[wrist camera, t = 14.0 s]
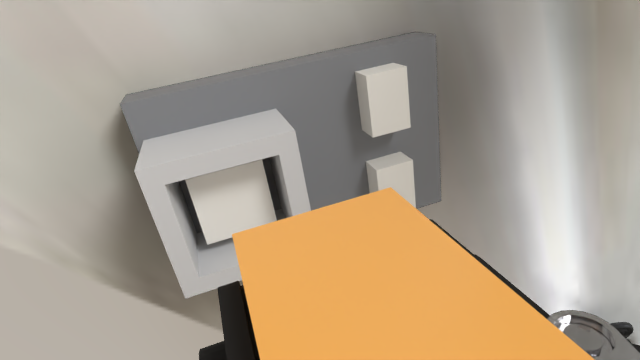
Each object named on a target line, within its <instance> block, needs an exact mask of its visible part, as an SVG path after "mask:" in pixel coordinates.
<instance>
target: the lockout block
mask: <svg viewBox="0 0 640 360" xmlns="http://www.w3.org/2000/svg"><path fill="white" fill-rule="evenodd" d="M232 237H233V241H234V246H235V250H236V255H237V259H238V264H239V268H240V272H241V277H242V281H243V286H244V290H245V295H246V299H247V303H248V308H249V312H250V317H251V321H252V326H253V330H254V334H255V339H256V343H257V348H258V352H259V357H260V360H595V359H593V358H592V357H591V356H590V355H589V354H588V353H586V352H585V351H584V350H583V349H582V348H580V347H579V346H578V345H577V344H576V343H575V342H573V341H572V340H571V339H570V338H569V337H567V336H566V335H565V334H564V333H563V332H562V331H560V330H559V329H558V328H557V327H556V326H554V325H553V324H552V323H551V322H550V321H549V320H547V319H546V318H545V317H544V316H543V315H541V314H540V313H539V312H538V311H537V310H536V309H534V308H533V307H532V306H531V305H530V304H528V303H527V302H526V301H525V300H524V299H523V298H521V297H520V296H519V295H518V294H517V293H515V292H514V291H513V290H512V289H511V288H509V287H508V286H507V285H506V284H505V283H504V282H502V281H501V280H500V279H499V278H498V277H496V276H495V275H494V274H493V273H492V272H491V271H489V270H488V269H487V268H486V267H485V266H483V265H482V264H481V263H480V262H479V261H478V260H476V259H475V258H474V257H473V256H472V255H470V254H469V253H468V252H467V251H466V250H465V249H463V248H462V247H461V246H460V245H459V244H457V243H456V242H455V241H454V240H453V239H452V238H450V237H449V236H448V235H447V234H446V233H444V232H443V231H442V230H441V229H440V228H439V227H437V226H436V225H435V224H434V223H433V222H431V221H430V220H429V219H428V218H427V217H425V216H424V215H423V214H422V213H421V212H420V211H418V210H417V209H416V208H415V207H414V206H412V205H411V204H410V203H409V202H408V201H407V200H405V199H404V198H403V197H402V196H401V195H399V194H398V193H397V192H396V191H395V190H394V189H392V188H391V187H390V188H386V189H383V190H379V191H376V192H373V193H369V194H366V195H363V196H359V197H356V198H352V199H349V200H346V201H342V202H339V203H336V204H332V205H329V206H325V207H322V208H319V209H315V210H312V211H309V212H305V213H302V214H298V215H295V216H292V217H288V218H285V219H281V220H278V221H275V222H271V223H268V224H265V225H261V226H258V227H254V228H251V229H248V230H244V231H241V232H238V233H234V234H232Z"/></svg>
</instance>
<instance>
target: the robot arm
mask: <svg viewBox="0 0 640 360" xmlns="http://www.w3.org/2000/svg"><path fill="white" fill-rule="evenodd" d="M429 220H430V221H431V222H433V223H434V224H435V225H436V226H437V227H439V228H440V229H441V230H442V231H443V232H444V233H446V234H447V235H448V236H449V237H450V238H452V239H453V240H454V241H455V242H456V243H457V244H459V245H460V246H461V247H462V248H463V249H465V250H466V251H467V252H468V253H469V254H470V255H472V256H473V257H474V258H475V259H476V260H478V261H479V262H480V263H481V264H482V265H483V266H485V267H486V268H487V269H488V270H489V271H491V272H492V273H493V274H494V275H495V276H496V277H498V278H499V279H500V280H501V281H502V282H504V283H505V284H506V285H507V286H508V287H509V288H511V289H512V290H513V291H514V292H515V293H517V294H518V295H519V296H520V297H521V298H523V299H524V300H525V301H526V302H527V303H528V304H530V305H531V306H532V307H533V308H534V309H536V310H537V311H538V312H539V313H540V314H541V315H543V316H544V317H545V318H546V319H547V320H549V321H550V322H551V323H552V324H553V325H554V326H556V327H557V328H558V329H559V330H560V331H562V332H563V333H564V334H565V335H566V336H567V337H569V338H570V339H571V340H572V341H573V342H575V343H576V344H577V345H578V346H579V347H580V348H582V349H583V350H584V351H585V352H586V353H588V354H589V355H590V356H591V357H592V358H593V359H595V360H640V346H639V345H635V344H630V343H629V342H628V341H627V340H626V339H625V338H624V337H623V336H622V335H621V333H620V332H619V331H618V330H617V329H616V328H614V327H613V326H612V325H611V324H609V323H608V322H607V321H605V320H603V319H601V318H599V317H597V316H595V315H592V314H589V313H586V312H582V311H575V310H566V311H560V312H557V313H553V314H552V315H551V316H550V315H549V314H548V313H546V312H545V311H544V310H543V309H542V308H540V307H539V306H538V305H537V304H536V303H534V302H533V301H532V300H531V299H529V298H528V297H527V296H526V295H525V294H523V293H522V292H521V291H520V290H519V289H517V288H516V287H515V286H514V285H513V284H511V283H510V282H509V281H508V280H507V279H505V278H504V277H503V276H502V275H501V274H499V273H498V272H497V271H496V270H495V269H493V268H492V267H491V266H490V265H489V264H487V263H486V262H485V261H484V260H482V259H481V258H480V257H478V256H477V255H474V254H472V253H471V252H470V251H469V250H468V249H466V248H465V247H464V246H463V245H462V244H461V243H459V242H458V241H457V240H456V239H455V238H453V237H452V236H451V235H450V234H449V233H447V232H446V231H445V230H444V229H443V228H441V227H440V226H439V225H438V224H437V223H435V222H434V221H433V220H431V219H429ZM218 295H219V303H220V311H221V318H222V326H223V334H224V341H222V342H220V343H217V344H214V345H211V346H208V347H205V348H202V349H200V351H199V360H260V357H259V352H258V348H257V343H256V339H255V334H254V330H253V326H252V321H251V317H250V312H249V308H248V303H247V299H246V295H245V290H244V286H243V285H242V286H240V283H239V281H236V282H232V283H229V284H226V285H223V286H220V287H218Z"/></svg>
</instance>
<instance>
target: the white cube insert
mask: <svg viewBox="0 0 640 360" xmlns="http://www.w3.org/2000/svg"><path fill="white" fill-rule="evenodd" d="M185 181H186V184H187V187H188V190H189V193H190V196H191V199H192V202H193V205H194V207H195V210H196V213H197V216H198V219H199V222H200V225H201V228H202V231H203V234H204V237H205V239H206V242H207V245H208V244H211V243H215V242H218V241H221V240H225V239H228V238H231V237H232V234H234V233H238V232H241V231H244V230H248V229H251V228H254V227H258V226H261V225H265V224H268V223H271V222H275V221H277V219H276V215H275V211H274V206H273V202H272V198H271V194H270V190H269V186H268V182H267V178H266V174H265V170H264V165H263V161H262V159H261V160H257V161H253V162H250V163H246V164H242V165H238V166H234V167H231V168H227V169H223V170H219V171H216V172H212V173H208V174H204V175H200V176H197V177H193V178H189V179H185Z"/></svg>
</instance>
